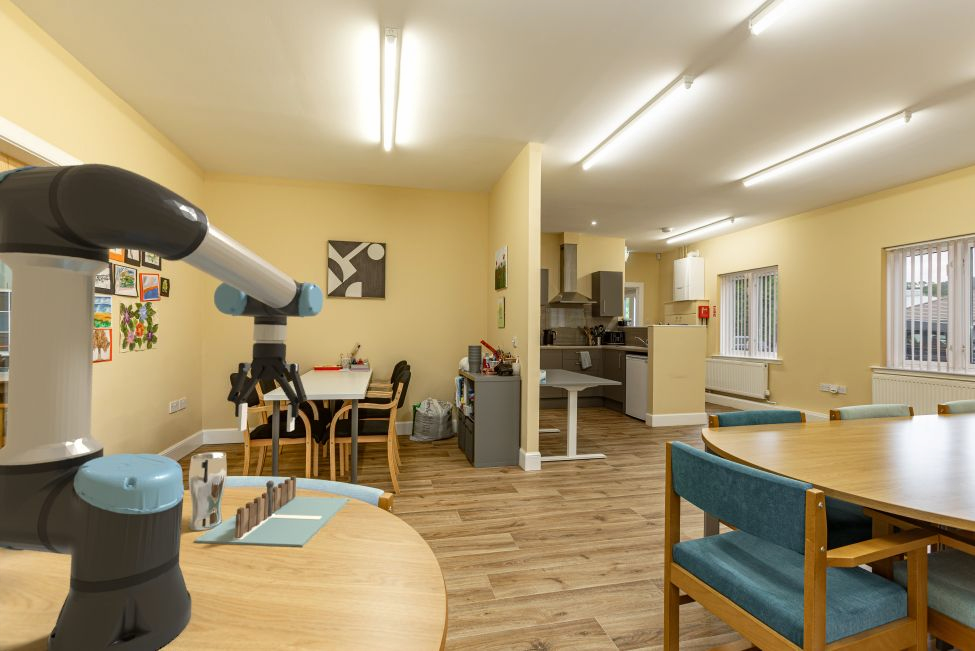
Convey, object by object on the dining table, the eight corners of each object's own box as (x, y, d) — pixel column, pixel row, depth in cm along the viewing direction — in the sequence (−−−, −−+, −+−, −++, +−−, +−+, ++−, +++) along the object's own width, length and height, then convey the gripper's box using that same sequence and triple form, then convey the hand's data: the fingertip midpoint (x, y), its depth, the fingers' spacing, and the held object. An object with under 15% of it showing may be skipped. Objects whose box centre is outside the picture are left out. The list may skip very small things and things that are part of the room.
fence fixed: (240, 541, 88) (242, 499, 88) (232, 541, 88) (234, 499, 88) (274, 516, 101) (275, 479, 101) (267, 516, 101) (268, 479, 101)
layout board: (302, 546, 86) (302, 544, 86) (194, 542, 87) (194, 539, 87) (349, 500, 112) (349, 498, 112) (265, 497, 113) (265, 495, 113)
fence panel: (273, 512, 101) (274, 489, 101) (269, 512, 101) (270, 489, 101) (296, 496, 112) (296, 475, 112) (292, 496, 112) (293, 474, 112)
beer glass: (211, 532, 92) (214, 460, 93) (178, 531, 92) (182, 459, 93) (231, 519, 99) (234, 451, 100) (200, 518, 99) (203, 451, 100)
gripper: (322, 343, 114) (319, 428, 114) (230, 341, 113) (226, 427, 112) (312, 343, 107) (309, 433, 106) (213, 341, 106) (209, 433, 105)
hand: (266, 430), depth 109 cm, fingers open, 11 cm apart
